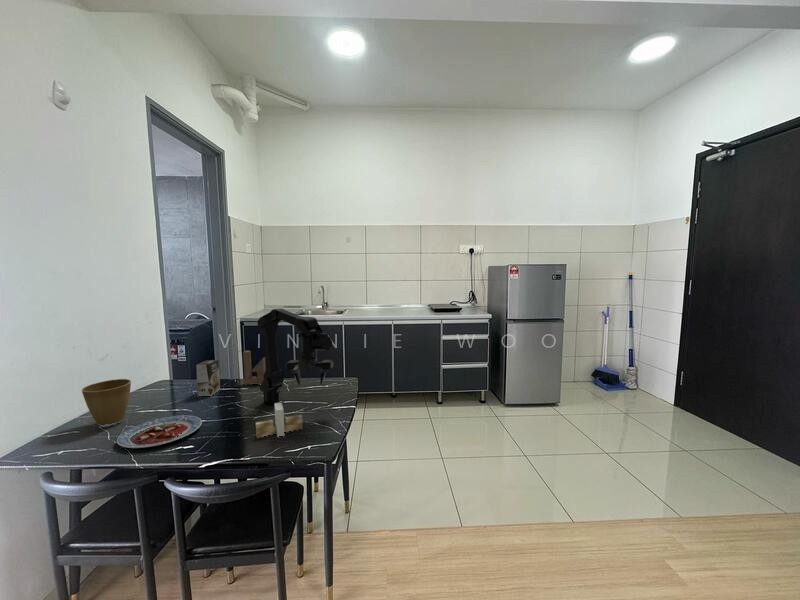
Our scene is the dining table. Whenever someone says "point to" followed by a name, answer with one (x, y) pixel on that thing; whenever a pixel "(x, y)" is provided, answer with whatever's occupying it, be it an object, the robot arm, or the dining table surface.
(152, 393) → the dining table surface
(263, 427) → the notched base plate
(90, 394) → the plant pot
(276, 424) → the grey tapered block
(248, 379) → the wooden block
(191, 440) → the dining table surface
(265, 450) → the dining table surface
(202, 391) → the coffee box
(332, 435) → the dining table surface
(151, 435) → the ceramic plate
